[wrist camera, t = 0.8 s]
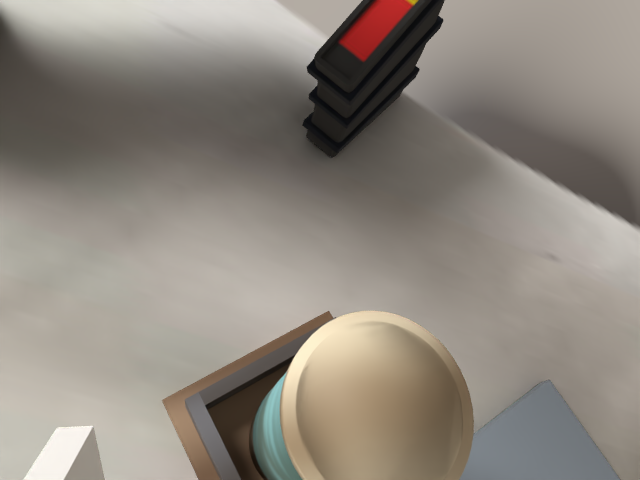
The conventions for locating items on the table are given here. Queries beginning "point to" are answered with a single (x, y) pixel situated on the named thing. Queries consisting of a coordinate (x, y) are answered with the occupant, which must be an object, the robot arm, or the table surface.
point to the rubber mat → (536, 443)
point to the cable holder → (232, 406)
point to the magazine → (367, 67)
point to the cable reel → (366, 406)
